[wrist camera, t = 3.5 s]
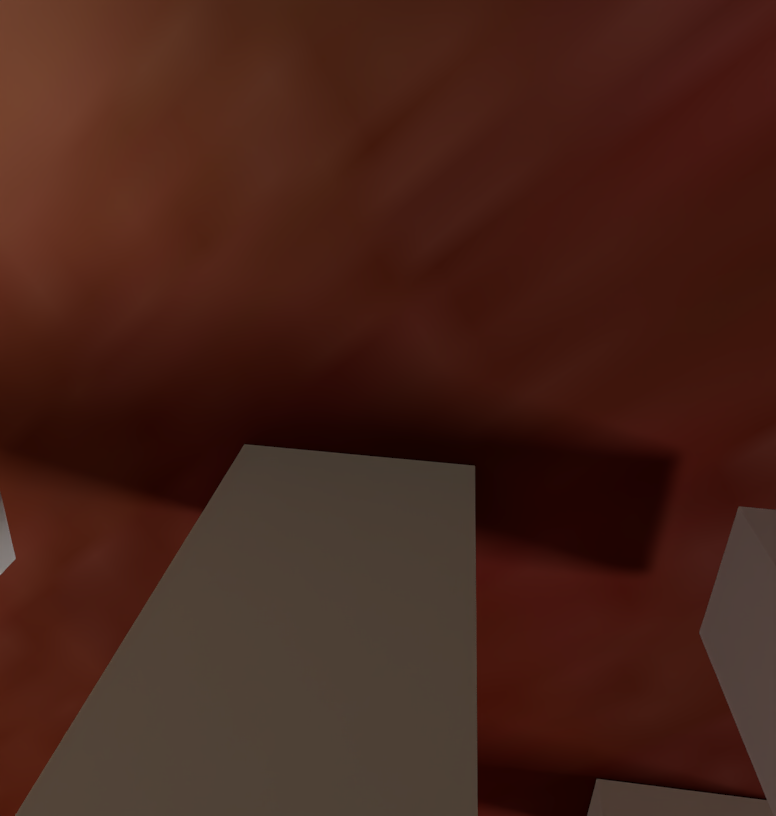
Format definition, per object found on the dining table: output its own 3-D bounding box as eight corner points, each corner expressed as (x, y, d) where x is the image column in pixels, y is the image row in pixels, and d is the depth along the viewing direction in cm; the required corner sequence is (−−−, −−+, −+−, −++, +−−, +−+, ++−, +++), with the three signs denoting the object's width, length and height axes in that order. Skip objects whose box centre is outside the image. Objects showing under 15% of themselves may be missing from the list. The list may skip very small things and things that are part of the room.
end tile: (244, 444, 13) (-216, 1191, 4) (474, 465, 13) (482, 1323, 4) (248, 522, 14) (-139, 1293, 5) (465, 544, 14) (454, 1408, 5)
